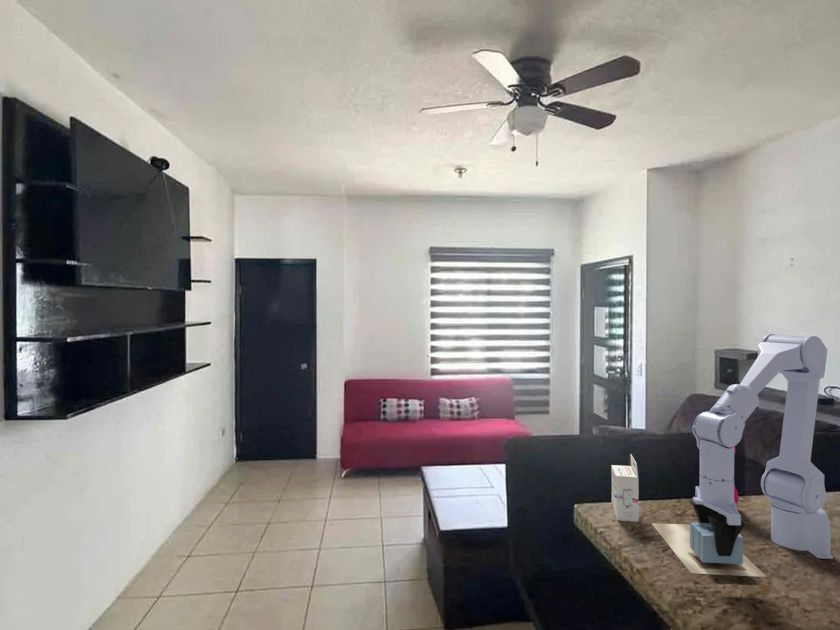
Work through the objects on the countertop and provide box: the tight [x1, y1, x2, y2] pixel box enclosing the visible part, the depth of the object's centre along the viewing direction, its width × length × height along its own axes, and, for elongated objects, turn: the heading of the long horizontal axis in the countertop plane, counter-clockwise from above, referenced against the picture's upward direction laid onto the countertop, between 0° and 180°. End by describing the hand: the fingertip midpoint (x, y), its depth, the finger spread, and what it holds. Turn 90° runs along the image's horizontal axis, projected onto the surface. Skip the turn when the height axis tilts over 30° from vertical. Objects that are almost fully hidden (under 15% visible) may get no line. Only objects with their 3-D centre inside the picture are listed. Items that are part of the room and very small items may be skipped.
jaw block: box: [689, 521, 744, 564], centre depth 100 cm, size 7×6×5 cm
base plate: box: [651, 522, 768, 578], centre depth 106 cm, size 13×22×6 cm, turn 174°
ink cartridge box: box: [610, 453, 640, 523], centre depth 123 cm, size 9×5×15 cm, turn 168°
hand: (716, 547), depth 100 cm, fingers closed on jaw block, 6 cm apart
